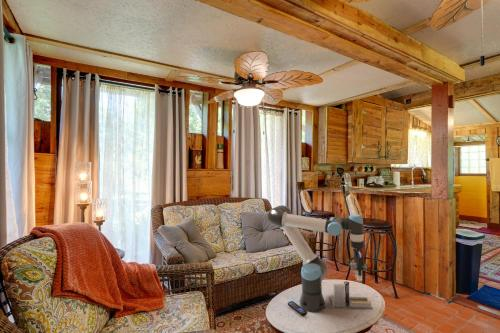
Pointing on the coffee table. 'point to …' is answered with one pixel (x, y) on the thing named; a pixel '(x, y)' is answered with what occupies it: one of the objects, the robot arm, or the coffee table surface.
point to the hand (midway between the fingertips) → (358, 279)
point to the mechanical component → (356, 266)
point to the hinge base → (350, 305)
